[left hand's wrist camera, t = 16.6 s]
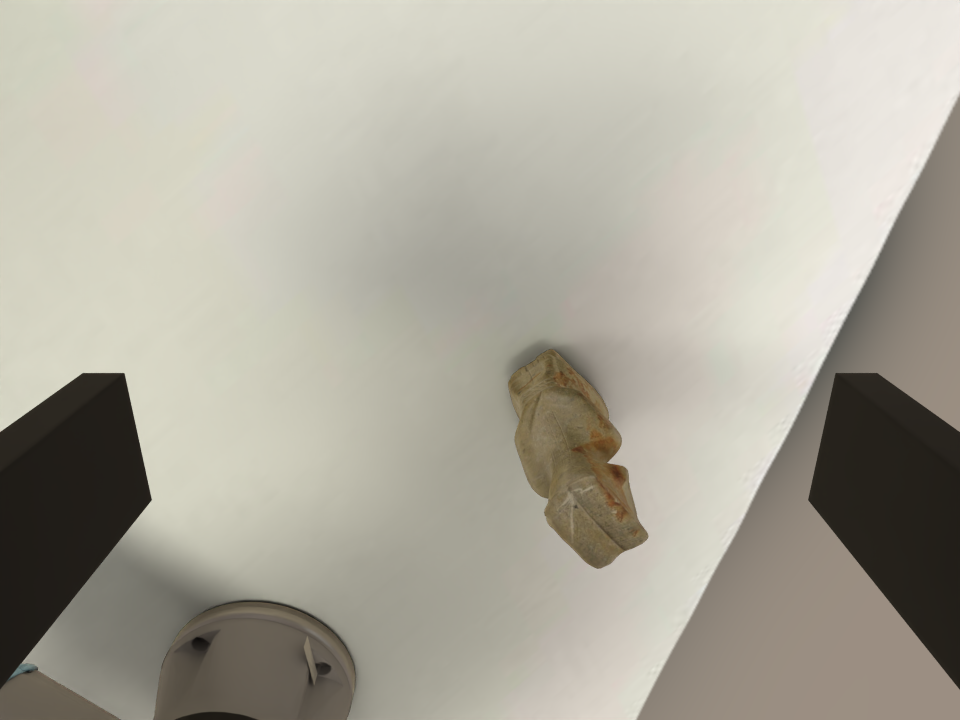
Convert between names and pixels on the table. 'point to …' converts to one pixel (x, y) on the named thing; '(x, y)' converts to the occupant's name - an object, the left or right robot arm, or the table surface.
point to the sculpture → (574, 460)
